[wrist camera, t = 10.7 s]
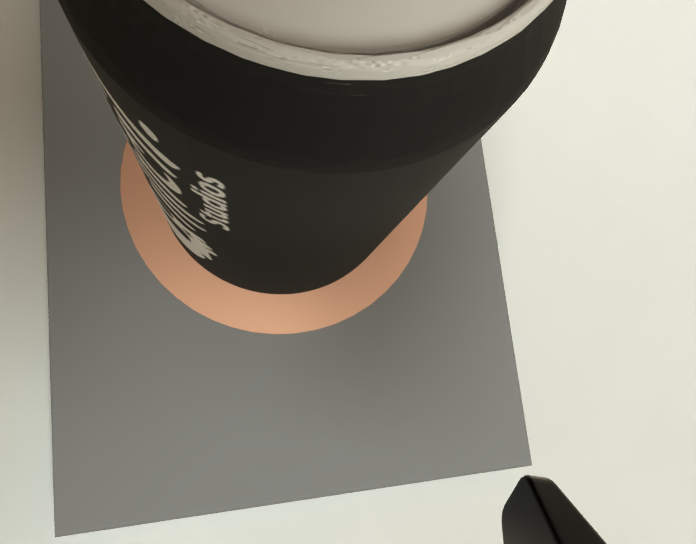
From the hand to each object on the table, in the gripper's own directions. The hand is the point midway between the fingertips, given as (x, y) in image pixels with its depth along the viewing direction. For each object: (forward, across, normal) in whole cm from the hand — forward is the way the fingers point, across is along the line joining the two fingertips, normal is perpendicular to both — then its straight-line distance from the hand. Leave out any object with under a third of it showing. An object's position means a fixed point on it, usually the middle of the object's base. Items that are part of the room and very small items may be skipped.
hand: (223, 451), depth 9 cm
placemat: (+11, 0, +1) cm, 11 cm away
